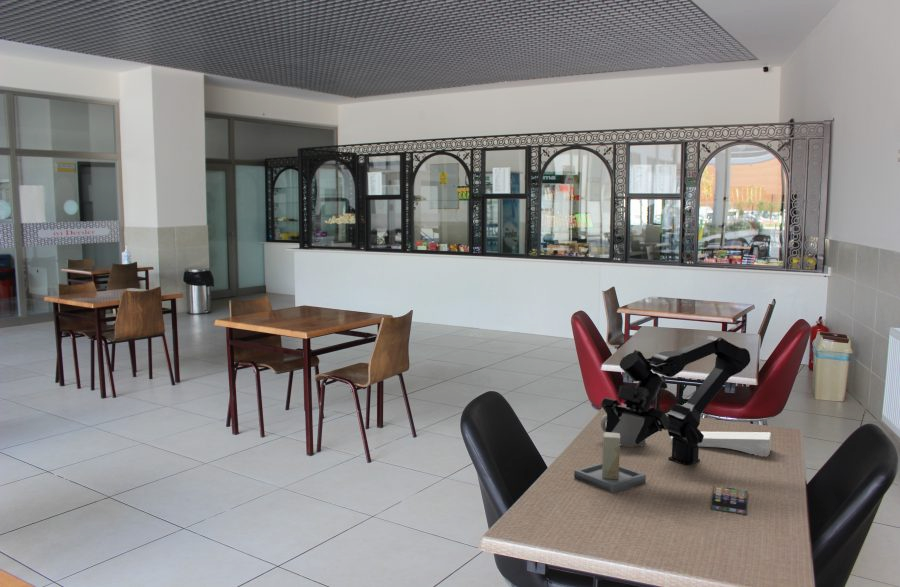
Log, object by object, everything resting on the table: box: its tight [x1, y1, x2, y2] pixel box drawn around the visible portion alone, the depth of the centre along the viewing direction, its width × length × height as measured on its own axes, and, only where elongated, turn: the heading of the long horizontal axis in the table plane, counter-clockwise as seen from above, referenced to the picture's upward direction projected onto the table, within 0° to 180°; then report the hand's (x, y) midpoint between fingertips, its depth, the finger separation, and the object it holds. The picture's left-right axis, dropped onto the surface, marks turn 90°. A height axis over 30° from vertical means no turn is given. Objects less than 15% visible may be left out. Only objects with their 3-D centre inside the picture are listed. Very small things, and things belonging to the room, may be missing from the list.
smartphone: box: [710, 485, 748, 516], centre depth 176 cm, size 8×15×1 cm, turn 157°
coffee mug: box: [600, 405, 646, 447], centre depth 222 cm, size 13×10×10 cm
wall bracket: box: [670, 430, 772, 458], centre depth 220 cm, size 10×7×28 cm
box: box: [601, 431, 621, 479], centre depth 188 cm, size 5×4×11 cm
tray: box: [573, 462, 647, 494], centre depth 189 cm, size 13×13×2 cm
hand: (621, 439), depth 191 cm, fingers open, 9 cm apart
